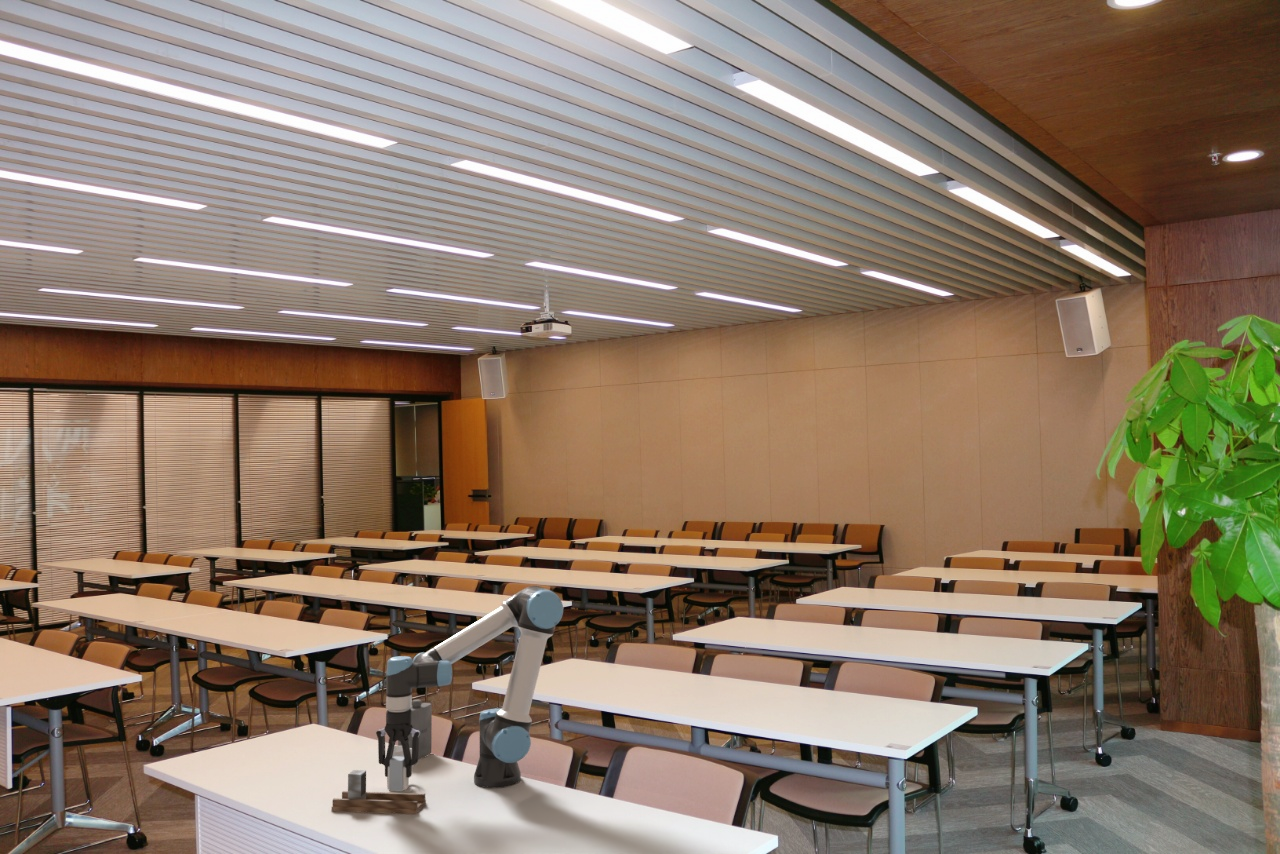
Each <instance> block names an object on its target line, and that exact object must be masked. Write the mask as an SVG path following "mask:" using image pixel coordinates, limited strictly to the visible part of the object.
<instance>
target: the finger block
mask: <svg viewBox="0 0 1280 854" xmlns="http://www.w3.org/2000/svg"><path fill="white" fill-rule="evenodd" d="M404 766H406V765H405V759H404V757H401V756H394V757H393V758H392V759H390V772H389V789H388V790H389V791H390V792H403V791H404V790H403V767H404Z"/></svg>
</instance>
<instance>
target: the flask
mask: <svg viewBox="0 0 1280 854" xmlns="http://www.w3.org/2000/svg"><path fill="white" fill-rule="evenodd" d="M432 706H433V705H432V703H430V702H422V700H421V699H413V700H412V707H411V708H410V709H411V710H412V721H411V724H412V726H413V729H415V730H417V731H418V730H421V734H420V737H419V750H418V760H421V759H423V758H425V756H426V757H428V756H430V754H432V743H433V742H432V741H433V740H432V739H433V738H432V730H433V728H432V726H433V725H432V721H433V720H432V719H433V717H432V715H433V713H432V712H433V711H432V709H433V708H432ZM408 739H409V748H412V740H413V737H412V733H410V735H409V736H408ZM397 746H402V745H401V742H400V741H397ZM427 755H428V756H427Z"/></svg>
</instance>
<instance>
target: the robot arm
mask: <svg viewBox="0 0 1280 854" xmlns="http://www.w3.org/2000/svg"><path fill="white" fill-rule="evenodd" d="M563 614H564V605H563V602H562V600H561V598H560V597H559V596H558V595H557V593H556V592H554V591H553V590H551V589H547V588H544V587H541V586H539V585H530V586H527V587H524V588H523V589H521V590H519V591H518V592H516V593H515V594H513V595H512V596H510V597H508V598H507V599H505V600H504V601H502V603H501V605H500V606H499V607H498V608H496V609H495V610H493V611H492V612H490V613H488V614H486V615H485V616H484V617H481V618H480V619H479V620H477V621H475V622H474V623H472V624H470V625H468V626H466V627H465V628H463V629H462V630H461V631H459V632H457V633H456V634H453V635H452V636H451V637H449V638H447V639H446V640H444V641H443V642H441V643H439V644H438V645H436V646H434V647H433V648H431V649H429V650H427V651H426V652H424V651H423V652H419V653H417V654H416V655H415V656H414V657H413V658H412V657H410V656H407V655H403V656H402V655H399V656H393V657H390V658H389V659H388V660H387V662H386V663H387V664H386V674H385V676H386V678H385V679H386V683H385V684H386V687H385V689H386V691H385V692H386V699H385V708H386V712H385V726H384V728H380V729H378V730H377V731H376V732H375V734H376V736H377V739H378V740H377V743H378V744H377V745H378V748H377V749H378V751H377V752H378V754H377V755H378V763H379V765H383V766H384V776H385V778H387V777H388V787H387V790H389V772H390V759H392V756H393V751H394V747H395V746H396V743H397V742H398V741H400V742H401V745H402V749H403V754H404V759H405V765H406V766H404V767H403V791H404V790H407V789H408V788H409V786H410V785H409V782H410V781H409V779H410V778H411V777H412V774H413V773H412V772H413V769H412V765H413V766H415V765H416V764H417V763H418V762H419V759H418V750H419V737H420V734H421V730H418V731H417V730H415V729H413V726H412V724H411V721H412V710H411V709H410V708H411V707H412V701H413V700H412V698H413V696H412V695H413V694H412V693H413V689H420V688H433V687H439V688H440V687H443V686H444V687H445V686H449V685H451V683H452V680H453V667H452V664H454V663H456V662H457V661H460V659H462V658H463V657H466V656H467V655H468V654H470V653H472V652H473V651H475V650H477V649H479V647H481V646H483V645H485V644H486V643H488V642H491V640H493V639H495V638H496V637H498V636H500V635H501V634H503V633H505V632H506V631H508V630H509V629H510V628H512V627H514V628H518V630H519V632H520V636H519V640H518V644H517V648H516V653H515V657H514V660H513V664H512V667H511V672H510V676H509V680H508V682H507V683H508V684H507V688H506V691H505V695H504V699H503V700H504V701H503V705H502V707H501V708H499V707H498V708H491V709H484V710H482V711H481V712H480V714H479V719H478V722H479V759H478V762H477V765H476V768H475V772H474V775H473V781H474V782H473V783H474V784H475V785H476V786H479V787H481V788H482V787H483V788H488V789H489V788H491V789H492V788H495V789H499V788H507V787H511V786H514V785H517V784H518V783H520V781H522V779H521V778H522V777H521V776H522V773H521V772H522V771H521V770H520V766H519V763H518V762H519V761H520V760H522V759H523V758H525V756H526V755H527V754H528V753H529V751H530V749H531V743H532V741H531V740H532V739H531V735H530V731H531V727H532V722H533V720H532V718H531V716H530V711H531V710H530V709H531V705H532V701H533V698H534V693H535V691H536V686H537V681H538V677H539V675H540V674H539V673H540V669H541V666H542V662H543V658H544V654H545V650H546V645H547V641H548V639H549V638H551V637H552V636H553V635H554V632H555V629H556V626H557V625H558V624H559V623H560V621H561V619H562V618H563ZM410 733H412V737H413V740H412V758H411V753H410V748H409V739H408V736H409V735H410ZM386 735H387V736H388V742H387V743H388V745H387V748H388V749H387V748H386Z"/></svg>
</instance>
